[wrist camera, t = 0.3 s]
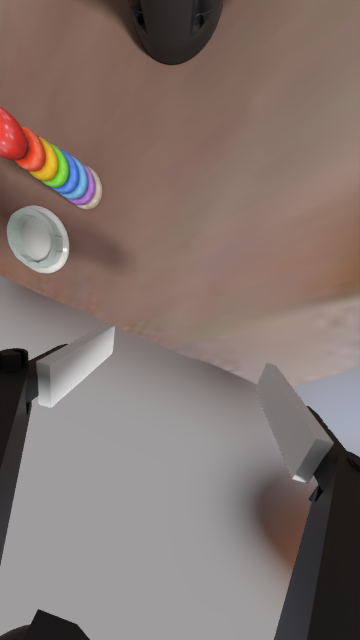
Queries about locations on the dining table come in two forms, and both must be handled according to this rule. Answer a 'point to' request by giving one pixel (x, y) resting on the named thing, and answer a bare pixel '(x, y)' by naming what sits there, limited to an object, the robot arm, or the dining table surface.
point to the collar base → (38, 239)
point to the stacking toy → (49, 163)
